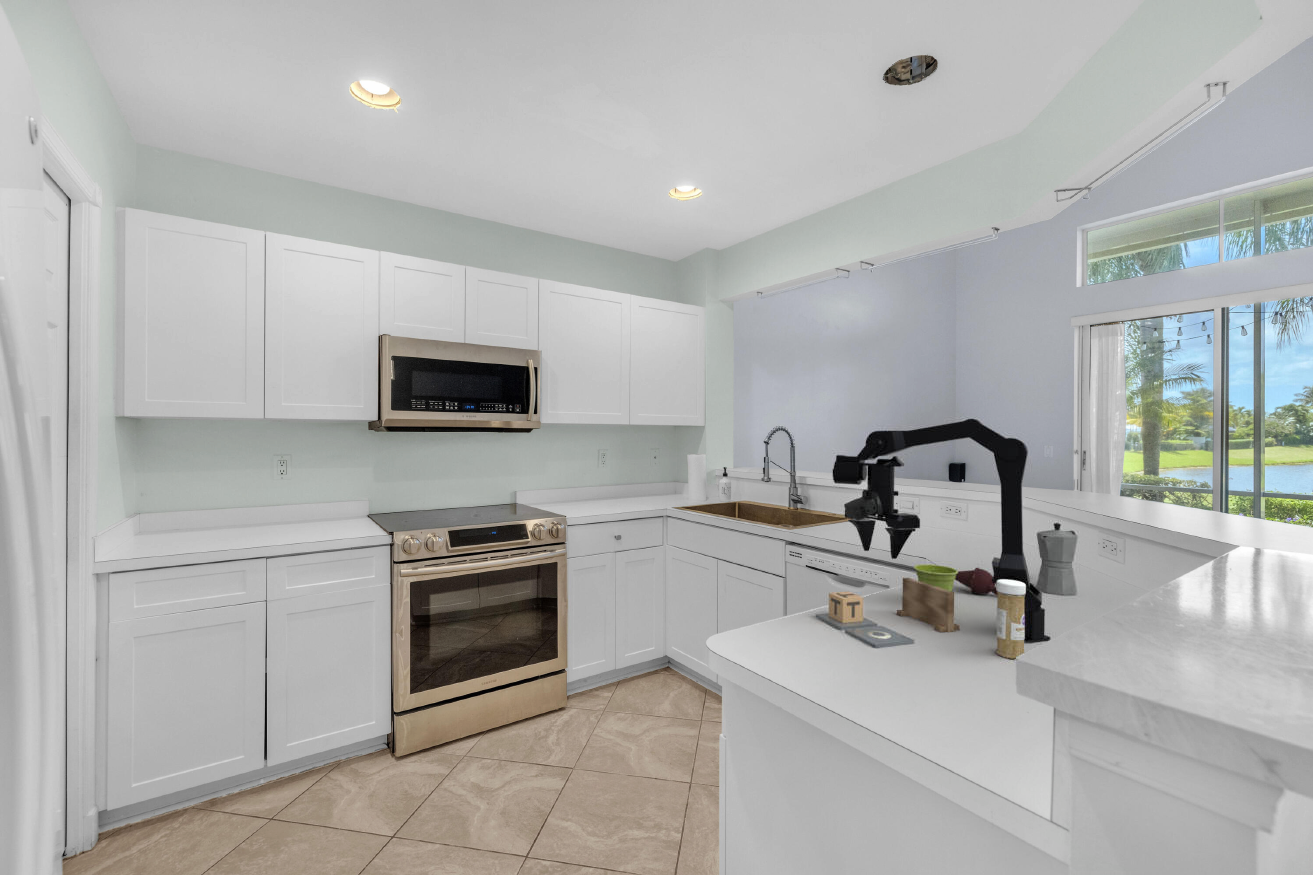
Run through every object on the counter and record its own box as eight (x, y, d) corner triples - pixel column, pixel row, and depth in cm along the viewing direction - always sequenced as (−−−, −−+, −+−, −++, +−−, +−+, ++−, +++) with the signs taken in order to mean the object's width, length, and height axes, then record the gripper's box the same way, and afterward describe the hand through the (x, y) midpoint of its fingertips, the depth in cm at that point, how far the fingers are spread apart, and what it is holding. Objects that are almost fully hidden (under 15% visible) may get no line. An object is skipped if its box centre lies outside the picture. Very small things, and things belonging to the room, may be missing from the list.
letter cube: (863, 621, 122) (863, 597, 122) (842, 623, 120) (843, 598, 120) (848, 614, 127) (848, 591, 127) (828, 616, 125) (828, 592, 125)
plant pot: (965, 611, 133) (965, 573, 133) (924, 610, 133) (924, 572, 133) (945, 600, 142) (946, 564, 142) (907, 599, 142) (907, 564, 142)
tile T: (877, 626, 121) (877, 623, 121) (840, 630, 118) (840, 626, 118) (849, 613, 129) (849, 610, 129) (815, 617, 127) (815, 614, 127)
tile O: (914, 643, 111) (914, 639, 111) (875, 647, 108) (875, 644, 108) (882, 628, 119) (882, 625, 119) (845, 632, 117) (845, 628, 117)
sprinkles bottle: (1025, 661, 102) (1026, 585, 102) (995, 656, 104) (996, 582, 105) (1024, 653, 106) (1024, 580, 106) (995, 648, 108) (996, 577, 109)
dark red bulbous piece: (941, 566, 151) (1006, 582, 141) (951, 555, 156) (1014, 570, 146) (941, 590, 153) (1005, 607, 142) (950, 579, 158) (1013, 595, 147)
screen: (960, 630, 119) (961, 591, 119) (941, 632, 117) (941, 593, 117) (913, 612, 131) (914, 577, 131) (895, 614, 130) (896, 578, 130)
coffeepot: (1062, 598, 145) (1062, 527, 145) (1023, 589, 154) (1024, 522, 154) (1094, 591, 153) (1095, 523, 153) (1055, 583, 161) (1056, 519, 161)
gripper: (826, 483, 138) (825, 548, 138) (879, 490, 120) (878, 565, 120) (865, 482, 141) (864, 546, 141) (922, 489, 124) (921, 562, 123)
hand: (879, 554), depth 131 cm, fingers open, 9 cm apart
